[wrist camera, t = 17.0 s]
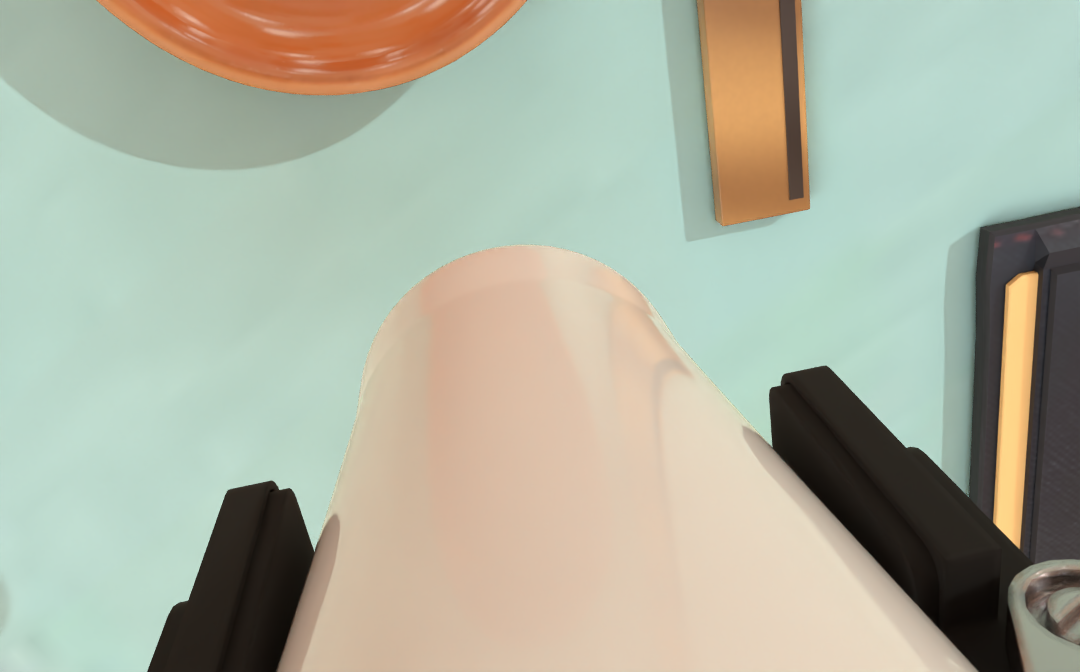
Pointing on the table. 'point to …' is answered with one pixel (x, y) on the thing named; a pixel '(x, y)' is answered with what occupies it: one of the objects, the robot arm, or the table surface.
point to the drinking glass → (577, 503)
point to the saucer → (316, 38)
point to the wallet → (1029, 383)
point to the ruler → (755, 107)
